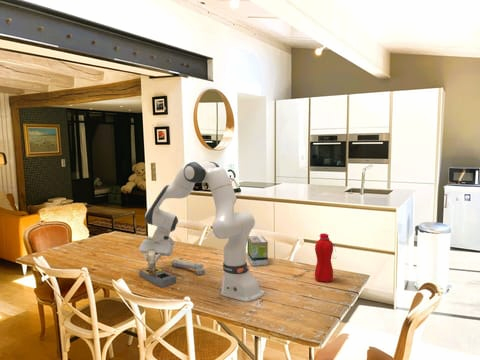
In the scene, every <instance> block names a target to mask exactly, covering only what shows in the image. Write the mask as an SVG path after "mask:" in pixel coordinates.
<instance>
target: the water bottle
mask: <svg viewBox="0 0 480 360" xmlns="http://www.w3.org/2000/svg"><path fill="white" fill-rule="evenodd" d="M318 236H319V239H318V240H317V241H316V243H315V245H314V251H315V256H316V265H315V270H314V279H315V281H318V282H323V283H330V282H332V281H333V278H334V269H333V265H332V257H333V253H334V251H335V252H337V251H336V249H335V250H334V248H336V247H335V245H334V243H333V242H332V240H330V238H329V234H328V233H325V232H324V233H320V234H319V235H318ZM334 259H335V260H336V259H337V257H335V258H334Z"/></svg>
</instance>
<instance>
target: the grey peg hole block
mask: <svg viewBox="0 0 480 360" xmlns="http://www.w3.org/2000/svg"><path fill="white" fill-rule="evenodd" d="M138 271H139V277H140V278H142V279H144V280H146V281H149V282H150V283H152V284H154V285H155V286H157V287H160V288H165V287H168V286H170V285H174V284H177V276H176V275H174V274H172V273H169V272H167V271H165V270H164V269H161V268H159V267H157V266H156V271H155V272H152V273H149V272H148V267H146V268H143V269H139V270H138Z"/></svg>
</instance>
